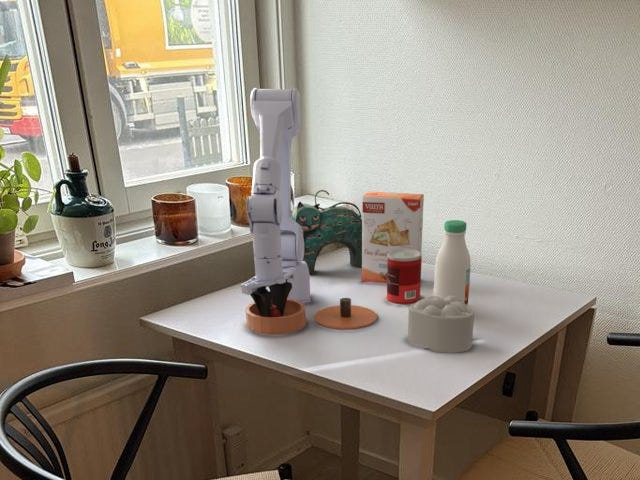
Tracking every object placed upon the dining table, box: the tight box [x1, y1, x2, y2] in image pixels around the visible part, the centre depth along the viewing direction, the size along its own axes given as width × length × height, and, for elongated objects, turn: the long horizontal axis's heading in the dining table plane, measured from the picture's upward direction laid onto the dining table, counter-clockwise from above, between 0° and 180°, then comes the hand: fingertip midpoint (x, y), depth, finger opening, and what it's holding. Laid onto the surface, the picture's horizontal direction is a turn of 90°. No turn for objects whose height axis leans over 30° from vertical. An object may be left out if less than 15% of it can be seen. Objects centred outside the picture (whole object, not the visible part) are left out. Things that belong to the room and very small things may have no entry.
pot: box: [245, 299, 307, 335], centre depth 157 cm, size 13×13×4 cm
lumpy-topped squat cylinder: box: [407, 294, 475, 354], centre depth 148 cm, size 10×13×9 cm
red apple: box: [271, 302, 281, 317], centre depth 157 cm, size 4×4×4 cm
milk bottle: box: [433, 219, 472, 306], centre depth 158 cm, size 8×8×20 cm
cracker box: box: [361, 190, 425, 284], centre depth 178 cm, size 14×6×21 cm, turn 77°
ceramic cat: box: [291, 189, 362, 275], centre depth 187 cm, size 20×6×20 cm, turn 115°
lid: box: [314, 297, 378, 330], centre depth 160 cm, size 14×14×5 cm
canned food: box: [386, 249, 423, 305], centre depth 168 cm, size 8×8×11 cm
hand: (272, 318), depth 158 cm, fingers closed on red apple, 3 cm apart
